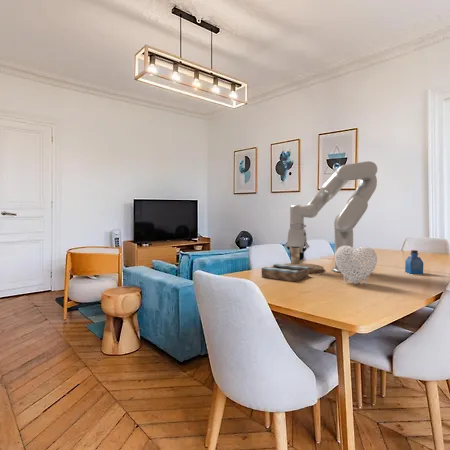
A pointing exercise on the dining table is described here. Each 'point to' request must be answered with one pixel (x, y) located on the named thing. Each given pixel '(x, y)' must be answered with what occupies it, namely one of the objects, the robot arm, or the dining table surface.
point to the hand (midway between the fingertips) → (296, 258)
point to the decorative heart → (355, 263)
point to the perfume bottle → (414, 263)
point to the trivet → (310, 267)
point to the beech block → (296, 255)
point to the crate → (285, 272)
